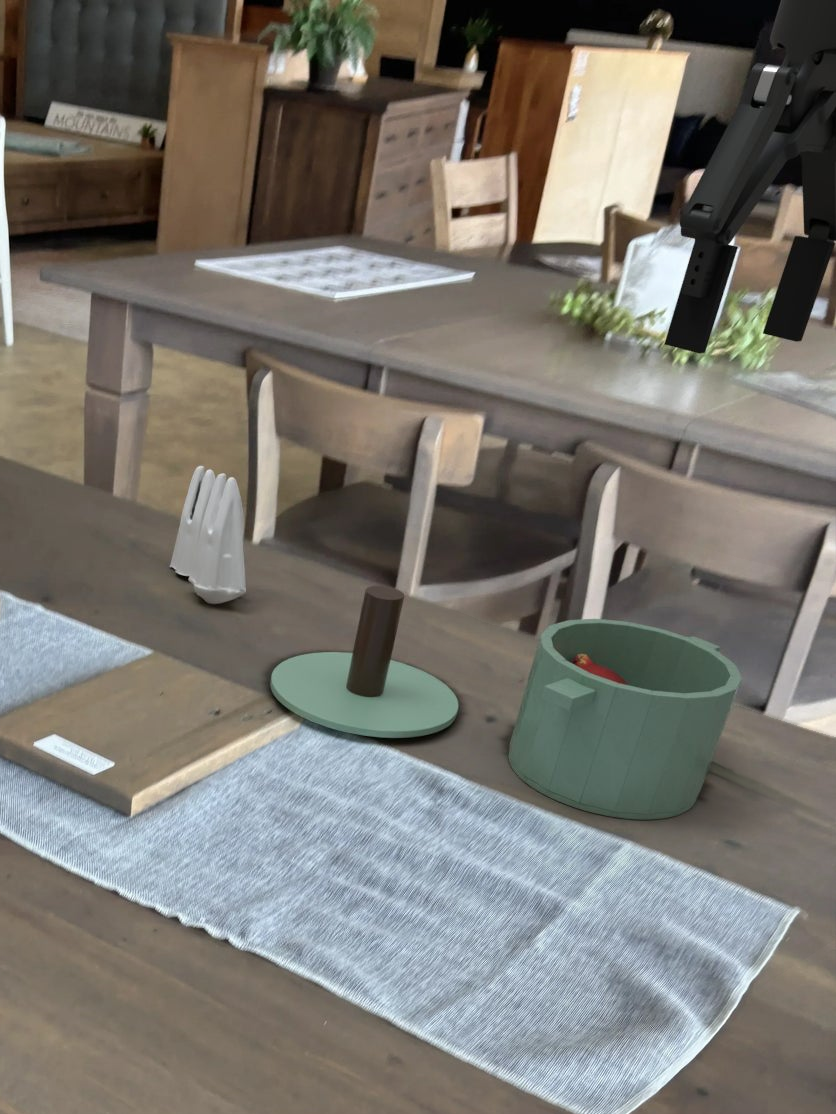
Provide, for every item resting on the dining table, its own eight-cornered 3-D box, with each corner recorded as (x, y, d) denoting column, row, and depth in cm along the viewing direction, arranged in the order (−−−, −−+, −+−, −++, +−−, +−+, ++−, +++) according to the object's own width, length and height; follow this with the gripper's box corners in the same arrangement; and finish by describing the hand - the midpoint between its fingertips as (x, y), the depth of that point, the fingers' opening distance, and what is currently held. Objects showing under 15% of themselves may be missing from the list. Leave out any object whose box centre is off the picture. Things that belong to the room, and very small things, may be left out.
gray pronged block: (244, 613, 127) (263, 490, 121) (200, 613, 126) (217, 488, 120) (209, 566, 137) (225, 449, 131) (167, 566, 136) (181, 448, 130)
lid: (493, 719, 113) (522, 609, 108) (370, 761, 105) (396, 644, 99) (354, 652, 122) (375, 548, 117) (230, 687, 114) (247, 575, 108)
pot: (750, 782, 108) (795, 665, 103) (608, 848, 97) (651, 722, 92) (595, 712, 116) (630, 601, 111) (448, 766, 105) (479, 645, 100)
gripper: (883, -9, 97) (772, 322, 109) (694, -44, 83) (591, 341, 95) (993, 0, 93) (865, 344, 105) (813, -36, 79) (689, 367, 91)
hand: (734, 343), depth 100 cm, fingers open, 13 cm apart
